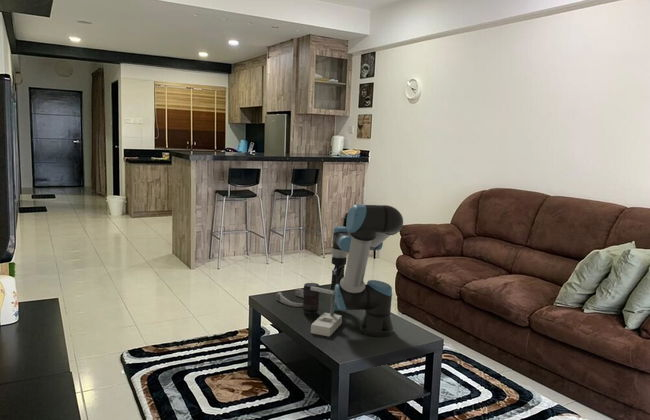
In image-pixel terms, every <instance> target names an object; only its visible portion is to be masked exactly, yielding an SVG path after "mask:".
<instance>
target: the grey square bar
mask: <svg viewBox="0 0 650 420" xmlns="http://www.w3.org/2000/svg"><path fill="white" fill-rule="evenodd" d="M310 290H313V291H318V292H320V293H325V294H328V295H330V296H331V295H335V291H334V290H331V289H327V288H322V287H320V288H318V287H313V286H311V288H310Z"/></svg>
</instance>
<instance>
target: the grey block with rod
mask: <svg viewBox="0 0 650 420" xmlns="http://www.w3.org/2000/svg"><path fill="white" fill-rule="evenodd" d="M334 304H335V295H331V294H330V309H329V311H330V312H323V313H322V314H321V315H320V316H319V317H317V318H316V320H314V321H313V322H312V323H311V325H310V334H314V335H320V336H326V337H331V336H332V335H333V333H335V331H336V330H338V328H339V327H340V326H341V325H342V323H343V315H341V314H336V313H335V311H334Z"/></svg>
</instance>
